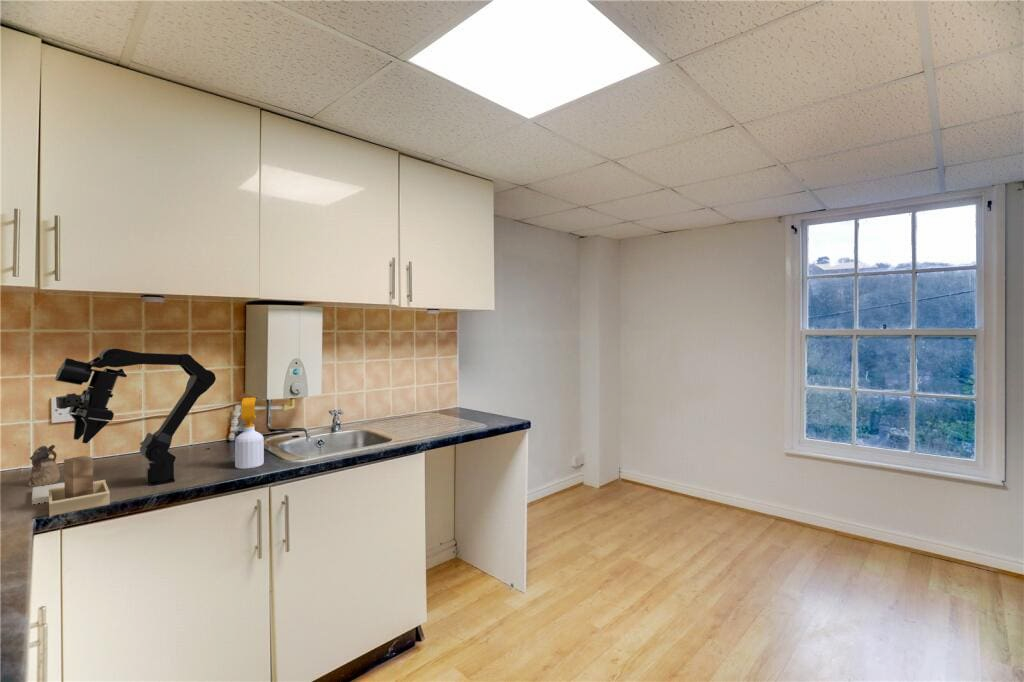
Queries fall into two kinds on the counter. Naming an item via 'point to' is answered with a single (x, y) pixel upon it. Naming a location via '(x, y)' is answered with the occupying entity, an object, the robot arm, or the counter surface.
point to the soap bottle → (249, 440)
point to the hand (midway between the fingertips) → (80, 441)
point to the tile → (43, 493)
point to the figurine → (44, 467)
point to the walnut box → (78, 476)
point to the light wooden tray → (78, 499)
